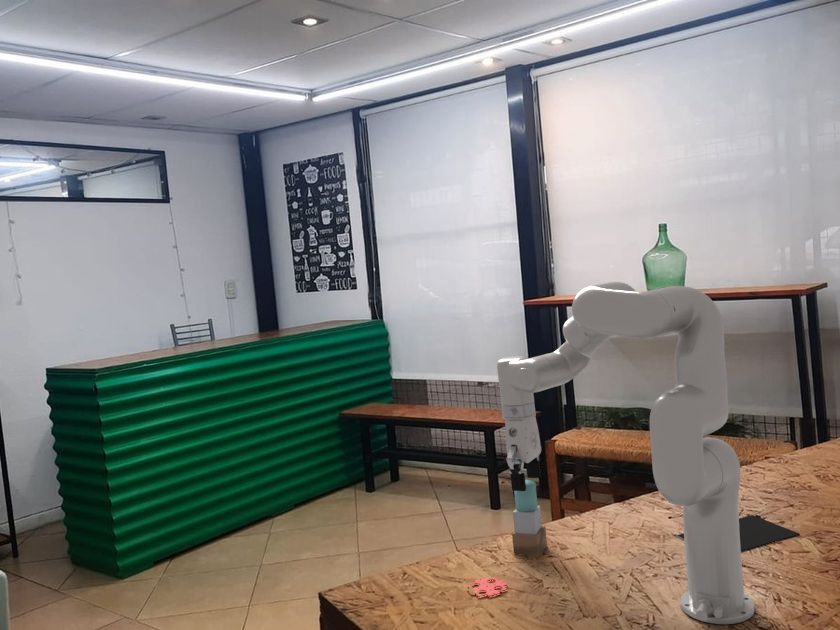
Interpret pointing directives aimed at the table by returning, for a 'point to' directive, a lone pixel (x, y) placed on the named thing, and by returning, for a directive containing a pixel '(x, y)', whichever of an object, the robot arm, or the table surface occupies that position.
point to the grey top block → (527, 521)
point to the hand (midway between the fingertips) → (526, 483)
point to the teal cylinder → (526, 498)
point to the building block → (489, 586)
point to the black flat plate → (758, 532)
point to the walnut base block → (530, 543)
